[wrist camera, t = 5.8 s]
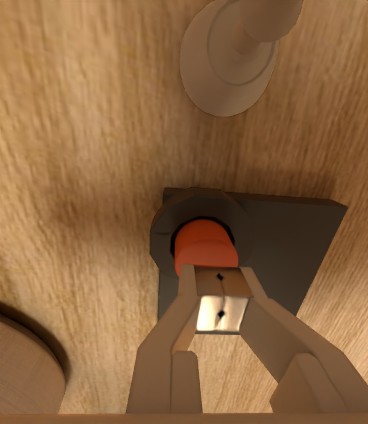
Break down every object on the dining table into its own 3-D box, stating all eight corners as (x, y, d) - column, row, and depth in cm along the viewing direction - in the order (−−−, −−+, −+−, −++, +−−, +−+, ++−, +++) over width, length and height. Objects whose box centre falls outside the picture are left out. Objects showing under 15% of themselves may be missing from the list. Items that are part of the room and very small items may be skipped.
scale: (156, 178, 12) (150, 192, 9) (335, 192, 13) (378, 208, 10) (152, 318, 17) (148, 353, 15) (278, 321, 18) (296, 355, 15)
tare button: (177, 216, 10) (177, 235, 8) (232, 220, 10) (244, 239, 9) (173, 262, 11) (172, 287, 10) (222, 264, 12) (231, 290, 10)
